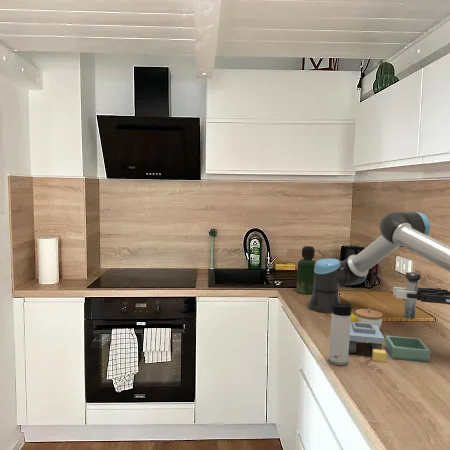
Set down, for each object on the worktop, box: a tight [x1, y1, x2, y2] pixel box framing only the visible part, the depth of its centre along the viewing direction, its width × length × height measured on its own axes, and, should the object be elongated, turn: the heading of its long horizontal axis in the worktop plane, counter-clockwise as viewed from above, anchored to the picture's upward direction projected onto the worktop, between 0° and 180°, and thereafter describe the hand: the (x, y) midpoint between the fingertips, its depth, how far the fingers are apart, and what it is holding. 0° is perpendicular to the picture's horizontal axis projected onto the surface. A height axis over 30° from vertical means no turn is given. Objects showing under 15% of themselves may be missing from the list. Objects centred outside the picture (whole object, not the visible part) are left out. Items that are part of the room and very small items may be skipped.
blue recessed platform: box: [349, 322, 385, 354], centre depth 154 cm, size 14×12×8 cm
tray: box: [384, 335, 431, 363], centre depth 151 cm, size 12×12×4 cm
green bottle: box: [295, 245, 317, 295], centre depth 232 cm, size 10×10×25 cm
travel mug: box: [328, 303, 353, 367], centre depth 141 cm, size 6×7×20 cm
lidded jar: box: [354, 308, 384, 329], centre depth 173 cm, size 11×11×9 cm
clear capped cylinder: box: [403, 271, 422, 320], centre depth 149 cm, size 5×5×16 cm
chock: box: [371, 348, 388, 363], centre depth 145 cm, size 3×4×3 cm
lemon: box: [351, 312, 357, 323], centre depth 171 cm, size 6×6×8 cm
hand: (395, 292), depth 150 cm, fingers closed on clear capped cylinder, 3 cm apart
